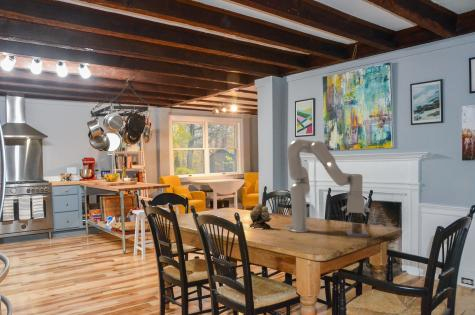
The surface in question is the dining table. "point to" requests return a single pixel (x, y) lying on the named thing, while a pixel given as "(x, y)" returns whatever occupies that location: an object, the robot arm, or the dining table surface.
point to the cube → (356, 228)
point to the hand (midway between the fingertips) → (355, 222)
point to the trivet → (357, 234)
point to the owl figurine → (260, 217)
